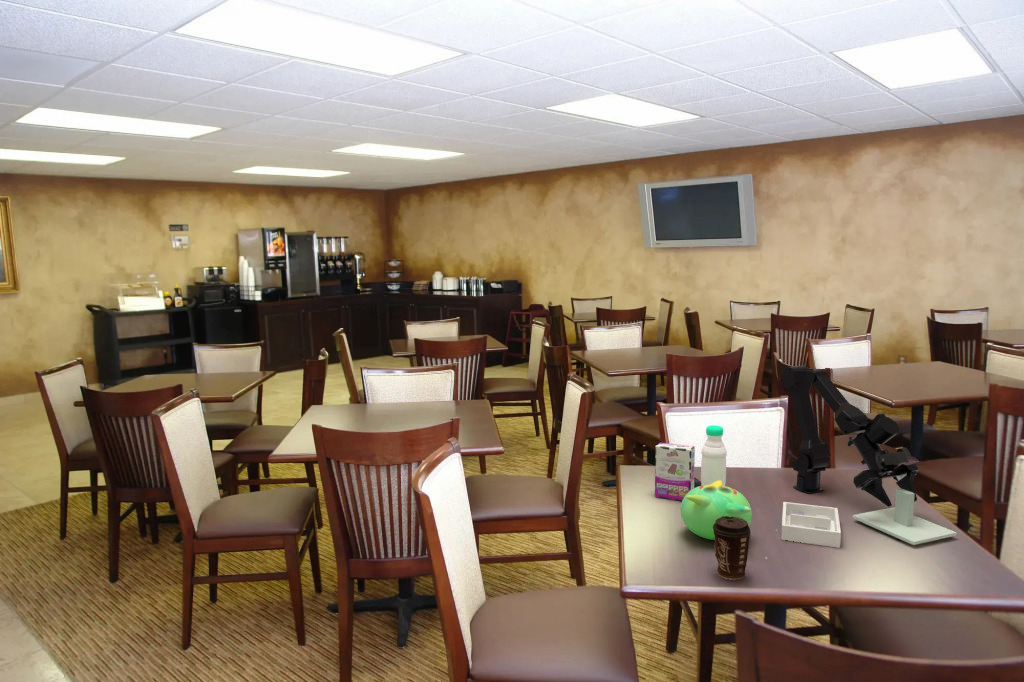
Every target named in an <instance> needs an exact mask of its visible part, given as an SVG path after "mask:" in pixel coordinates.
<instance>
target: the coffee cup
mask: <svg viewBox="0 0 1024 682" xmlns="http://www.w3.org/2000/svg"><path fill="white" fill-rule="evenodd" d="M713 531H714V536H715V540H714V556H715V558H716V560H717V567H716V568H717V569H716V574H718V575H717V576H718V577H720V576H721V577H720V578H722V577H723V578H722V579H724V578H725V579H724V580H727V579H729V580H728V581H737V579H738V580H741V579H744V577H745V576H746V567H747V563H748V556H749V548H750V546H749V545H750V538H751V527H750V525H749V526H748V523H747V521H745V520H744V519H742V518H739V517H733V516H732V517H729V516H722V517H721V518H718V519H717V520H716V522H715V523H714V525H713Z"/></svg>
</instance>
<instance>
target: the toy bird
mask: <svg viewBox="0 0 1024 682" xmlns="http://www.w3.org/2000/svg"><path fill="white" fill-rule="evenodd" d="M680 515H681V520H682V521H683V523H684V525H685V526H686V527H687V529H688V530H690V531H691V532H692V533H693V534H695V535H697V536H699V538H700V537H701V538H703V539H706V540H710V541H711V540H712V541H715V536H714V531H713V525H714V523H715V522H716V520H717V519H718V518H721V517H722V516H729V517H732V516H733V517H739V518H742V519H744V520H745V521H747V523H748V526H749V527H750V524H751V522H752V519H753V518H752V515H753V514H752V508H751V505H750V503H749V501H748V499H747V498H746V497H745V496H744V494H742V493H741V492H740V491H738V490H736V489H734V488H732V487H729V486H728V485H727V486H726V485H725V486H723V485H722V481H721V480H718V481H715V482H713V483H712V484H709V485H702V486H699V487H696V488H694V489H692V490H691V491H689V492H688V493H687V494H686V495H685V497H684V499H683V501H681V505H680Z"/></svg>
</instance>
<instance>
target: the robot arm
mask: <svg viewBox="0 0 1024 682" xmlns="http://www.w3.org/2000/svg"><path fill="white" fill-rule="evenodd" d="M781 379H782V382H783V385H784V387H785V389H786V390H787V392H788V393H790V395H791V396H792V400H793V405H794V406H793V407H794V410H795V415H796V418H797V423H798V424H797V425H798V429H799V433H800V436H801V443H800V446H799V448H798V455H799V457H798V458H797V459H795V460H794V461H793V462H792V469H793V471H795V472H797V475H796V485H793V488H794V489H796V490H798V491H801V492H804V493H805V494H808V495H810V494H814V493H818V492H824V488H821V487H820V486H821V473H822V472H825V471H826V469H827V467H828V465H829V463H830V462H831V457H832V456H831V455H832V454H831V453H830V449H829V444H828V442H823V440H821V439H820V437H819V433H818V428H817V423H816V419H815V415H814V409H813V405H812V401H811V396H810V391H811V387H812V386H813V387H814V388H815V390H816V391H817V392H818V394H819V395H820V396H821V397H822V399H823V400H824V402H825V403H826V404H827V405H828V407H829V408H830V409H831V410H832V413H833V416H834V421H835V423H836V425H837V426H838V429H839V430H840V431H841V432H842V433H843V434H847V435H851V434H856V435H854V436H849V437H848V441H847V447H855V448H856V450H857V452H858V453H859V455H860V457H861V458H862V460H860V463H861V465H863V466H864V465H866V467H867V468H868V469H865V470H864V469H863V470H861V472H860V473H857V475H856V476H854V477H853V478H852V479H853V480H852V482H853V484H854V486H855V488H856V489H860V490H861V491H865V492H867V493H868V494H869V495H870V496H872V497H873V498H875V499H877V500H878V501H880V502H881V503H882V504H884V505H886V506H887V508H891V506H892V505H893V504H892V502H891V499H890V498H889V495H888V494H887V492H886V489H885V488H884V487H883V480H885V479H889V478H893V480H894V481H895V484H896V485H897V487H899V489H904V490H907V491H910V492H912V493H915V494H914V503H915V502H917V501H918V496H917V493H916V489H915V484H914V481H915V476H916V475H918V474H917V473H918V472H919V471H920V469H919V467H918V466H917V465H916V463H914V462H910V460H909V459H911V458H912V454H911V452H910V451H909V449H908V448H907V447H901V448H897V449H896V451H895V452H891V453H890V451H889V450H887V449H883V448H882V447H881V445H884V444H886V443H887V442H888V441H890V440H891V439H892V438H894V437H895V436H896V435H897V434H898V433H899V432H900V427H899V425H898V424H897V422H896V421H894V420H893V419H892V418H890V417H888V416H886V415H885V413H884V412H883V413H878V414H876V415H875V417H874V418H873V419H872V418H869V417H868V416H867V414H865V413H864V412H863V411H862V410H860V408H859V407H857V406H855V405H854V404H852V403H850V402H849V401H848V400H847V399H846V397H845V396H844V395H843V394H842V392H841V391H840V390H839V389H838V388H837V386H836V385H835V383H833V382H832V380H831V379H830V378H829V376H828V373H827V371H826V370H824V369H819V368H818V369H817V368H809V367H807V366H806V365H795V366H787V367H784V368H783V370H782V372H781Z"/></svg>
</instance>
